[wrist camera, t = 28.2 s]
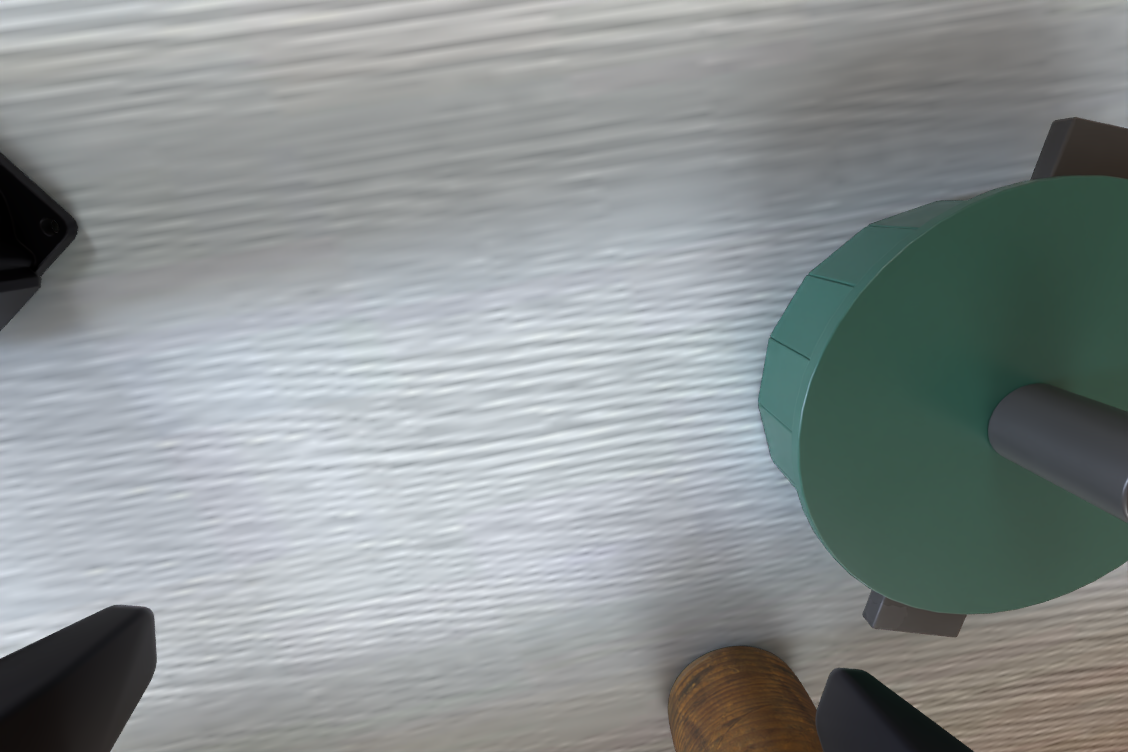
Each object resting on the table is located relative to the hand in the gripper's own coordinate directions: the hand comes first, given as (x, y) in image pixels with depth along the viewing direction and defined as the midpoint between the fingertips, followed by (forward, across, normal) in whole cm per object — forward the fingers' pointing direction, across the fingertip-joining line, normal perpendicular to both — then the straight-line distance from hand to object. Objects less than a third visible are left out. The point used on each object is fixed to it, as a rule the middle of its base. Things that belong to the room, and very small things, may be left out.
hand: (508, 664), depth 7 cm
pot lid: (+9, -15, -2) cm, 17 cm away
